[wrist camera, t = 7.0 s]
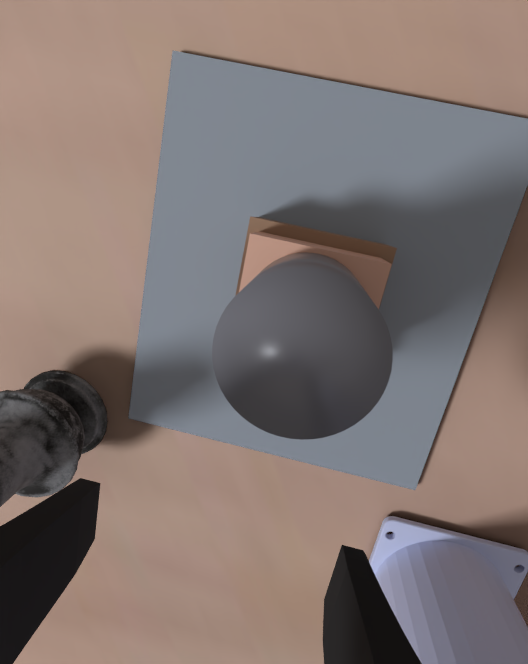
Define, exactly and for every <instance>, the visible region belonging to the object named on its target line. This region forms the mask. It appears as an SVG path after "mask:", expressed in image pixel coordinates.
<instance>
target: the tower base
mask: <svg viewBox="0 0 528 664" xmlns="http://www.w3.org/2000/svg"><path fill="white" fill-rule="evenodd" d="M254 232H264V233H269V234H273V235H278V236H282V237H287V238H292V239H296V240H301V241H306V242H310V243H315V244H319V245H324V246H329V247H333V248H338V249H342V250H347V251H352V252H356V253H361V254H366V255H370V256H375V257H379V258H382V259H384V260H385V261H387V262H389V263H391V264H392V263H393V260H394V257H395V253H396V250H397V248H395V247H392V246H389V245H386V244H382V243H377V242H373V241H368V240H363V239H359V238H354V237H349V236H345V235H340V234H335V233H331V232H326V231H321V230H317V229H312V228H307V227H303V226H298V225H293V224H289V223H284V222H279V221H275V220H270V219H265V218H261V217H250V220H249V225H248V231H247V236H246V241H245V247H244V252H243V257H242V263H241V268H240V273H239V279H238V284H237V289H236V295H237V294H238V293H239V289H240V283H241V278H242V273H243V267H244V262H245V257H246V252H247V246H248V241H249V236H250V233H254ZM391 267H392V265H391ZM390 270H391V269H390ZM389 274H390V272H389ZM388 277H389V276H388ZM387 280H388V279H387ZM386 284H387V282H386ZM385 287H386V286H385ZM384 291H385V289H384ZM383 294H384V293H383ZM236 295H235V296H236ZM382 297H383V296H382ZM381 301H382V299H381ZM380 304H381V303H380ZM379 308H380V306H379Z"/></svg>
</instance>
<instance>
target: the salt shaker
mask: <svg viewBox="0 0 528 664" xmlns="http://www.w3.org/2000/svg"><path fill="white" fill-rule="evenodd" d="M106 427H107V413H106V409H105V406H104V404H103V401H102V399H101V397H100V396H99V395H98V393H97V392H96V390H95V389H94V388H93V387H92V386H91V385H90V384H89V383H87V382H86V381H85V380H83V379H82V378H80V377H78V376H76V375H74V374H71V373H68V372H64V371H49V372H44V373H41V374H39V375H37V376H36V377H34V378H32V379H31V380H30V381H29V382H28V383H27V384H26V386H25V387H24V389H20V390H16V391H9V390H5V391H1V392H0V507H1V506H2V505H3V504H4V503H5V502H6V501H7V500H8V499H9V498H11V497H12V496H13V495H14V494H18V495H21V496H28V497H42V496H48V495H52V494H54V493H56V492H58V491H60V490H62V489H63V488H64V487H65V486H66V485H67V484H68V483H69V482H70V481H71V480H72V478H73V476H74V474H75V472H76V470H77V465H78V461H79V459H80V457H81V454H83V453H86V452H88V451H90V450H92V449H93V448H94V447H95V446H96V445H97V444H98V443H99V442H100V441H101V440H102V438H103V436H104V434H105V432H106Z"/></svg>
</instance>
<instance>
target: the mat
mask: <svg viewBox="0 0 528 664" xmlns="http://www.w3.org/2000/svg"><path fill="white" fill-rule="evenodd" d="M527 186H528V119H526V118H521V117H516V116H511V115H506V114H500V113H495V112H490V111H485V110H480V109H474V108H469V107H464V106H459V105H454V104H448V103H443V102H438V101H433V100H428V99H422V98H417V97H412V96H407V95H402V94H396V93H391V92H386V91H381V90H375V89H370V88H365V87H360V86H355V85H349V84H344V83H339V82H334V81H329V80H323V79H318V78H313V77H308V76H303V75H297V74H292V73H287V72H282V71H277V70H271V69H266V68H261V67H256V66H251V65H245V64H240V63H235V62H230V61H225V60H219V59H214V58H209V57H204V56H198V55H193V54H188V53H183V52H178V51H173V53H172V61H171V69H170V77H169V86H168V94H167V102H166V111H165V119H164V127H163V135H162V144H161V152H160V160H159V169H158V177H157V185H156V193H155V202H154V210H153V218H152V226H151V235H150V243H149V251H148V260H147V268H146V276H145V284H144V293H143V301H142V309H141V318H140V326H139V334H138V342H137V351H136V359H135V367H134V376H133V384H132V392H131V400H130V409H129V417H128V418H129V419H133V420H137V421H141V422H145V423H149V424H153V425H157V426H161V427H165V428H169V429H173V430H177V431H181V432H185V433H189V434H193V435H197V436H201V437H205V438H209V439H213V440H217V441H221V442H225V443H229V444H233V445H237V446H241V447H245V448H249V449H253V450H257V451H261V452H265V453H269V454H273V455H277V456H281V457H285V458H289V459H293V460H297V461H301V462H305V463H309V464H313V465H317V466H321V467H325V468H329V469H333V470H337V471H341V472H345V473H349V474H353V475H357V476H361V477H365V478H368V479H372V480H376V481H380V482H384V483H388V484H392V485H396V486H400V487H404V488H408V489H412V490H415V489H416V487H417V484H418V481H419V479H420V476H421V473H422V470H423V468H424V465H425V462H426V460H427V457H428V454H429V451H430V449H431V446H432V443H433V441H434V438H435V435H436V432H437V430H438V427H439V424H440V422H441V419H442V416H443V414H444V411H445V408H446V405H447V403H448V400H449V397H450V395H451V392H452V389H453V386H454V384H455V381H456V378H457V376H458V373H459V370H460V367H461V365H462V362H463V359H464V357H465V354H466V351H467V348H468V346H469V343H470V340H471V338H472V335H473V332H474V329H475V327H476V324H477V321H478V319H479V316H480V313H481V310H482V308H483V305H484V302H485V300H486V297H487V294H488V291H489V289H490V286H491V283H492V281H493V278H494V275H495V272H496V270H497V267H498V264H499V262H500V259H501V256H502V253H503V251H504V248H505V245H506V243H507V240H508V237H509V234H510V232H511V229H512V226H513V224H514V221H515V218H516V215H517V213H518V210H519V207H520V205H521V202H522V199H523V196H524V194H525V191H526V188H527ZM250 217H261V218H265V219H270V220H275V221H279V222H284V223H289V224H293V225H298V226H303V227H307V228H312V229H317V230H321V231H326V232H331V233H335V234H340V235H345V236H349V237H354V238H359V239H363V240H368V241H373V242H377V243H382V244H386V245H389V246H392V247H395V248H397V250H396V253H395V257H394V260H393V263H392V267H391V270H390V274H389V277H388V280H387V284H386V287H385V291H384V294H383V297H382V301H381V304H380V308H379V311H380V313H381V314H382V316H383V318H384V320H385V322H386V324H387V327H388V330H389V333H390V336H391V342H392V348H393V362H392V370H391V374H390V378H389V382H388V384H387V386H386V389H385V391H384V393H383V395H382V397H381V398H380V400H379V402H378V403H377V404H376V405H375V407H374V408H373V409H372V410H371V411H370V412H369V413H368V414H367V415H366V416H365V417H364V418H363V419H362V420H360V421H359V422H358V423H356V424H355V425H353V426H352V427H350V428H348V429H346V430H345V431H342V432H340V433H337V434H335V435H331V436H328V437H324V438H318V439H307V440H299V439H289V438H284V437H279V436H276V435H273V434H270V433H268V432H266V431H263V430H261V429H259V428H257V427H256V426H254V425H252V424H251V423H249V422H248V421H247V420H245V419H244V418H243V417H242V416H241V415H240V414H239V413H238V412H237V411H236V410H235V409H234V408H233V407H232V406H231V405H230V403H229V402H228V401H227V399H226V398H225V396H224V394H223V393H222V391H221V389H220V387H219V384H218V382H217V379H216V376H215V372H214V368H213V361H212V345H213V338H214V334H215V330H216V326H217V324H218V322H219V319H220V317H221V315H222V313H223V312H224V310H225V308H226V307H227V305H228V304H229V303H230V302H231V300H232V299H233V298H234V297H235V295H236V289H237V284H238V279H239V273H240V268H241V263H242V257H243V252H244V247H245V241H246V236H247V231H248V225H249V220H250Z"/></svg>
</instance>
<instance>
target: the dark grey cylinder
mask: <svg viewBox="0 0 528 664" xmlns="http://www.w3.org/2000/svg"><path fill="white" fill-rule="evenodd" d="M212 361H213V368H214V372H215V376H216V379H217V382H218V384H219V387H220V389H221V391H222V393H223V394H224V396H225V398H226V399H227V401H228V402H229V403H230V405H231V406H232V407H233V408H234V409H235V410H236V411H237V412H238V413H239V414H240V415H241V416H242V417H243V418H244V419H245V420H247V421H248V422H249V423H251V424H252V425H254V426H256V427H257V428H259V429H261V430H263V431H266V432H268V433H270V434H273V435H276V436H279V437H284V438H289V439H299V440H307V439H318V438H324V437H328V436H331V435H335V434H337V433H340V432H342V431H345V430H346V429H348V428H350V427H352V426H353V425H355V424H356V423H358V422H359V421H360V420H362V419H363V418H364V417H365V416H366V415H367V414H368V413H369V412H370V411H371V410H372V409H373V408H374V407H375V405H376V404H377V403H378V402H379V400H380V398H381V397H382V395H383V393H384V391H385V389H386V386H387V384H388V382H389V378H390V374H391V370H392V362H393V348H392V342H391V336H390V333H389V330H388V327H387V324H386V322H385V320H384V318H383V316H382V314H381V313H380V311H379V310H378V308H377V307H376V305H375V304H374V302H373V301H372V299H371V298H370V297H369V295H368V294H367V292H366V291H365V290H364V288H363V287H362V285H361V284H360V283H359V281H358V280H357V278H356V277H355V276H354V275H353V273H352V272H351V271H350V270H349V269H348V268H347V267H345V266H344V265H343V264H341V263H340V262H338V261H337V260H335V259H333V258H331V257H328V256H325V255H322V254H317V253H308V252H303V253H294V254H290V255H287V256H284V257H281V258H279V259H277V260H275V261H273V262H272V263H271V264H269V265H268V266H266V267H265V268H264V269H263V270H262V271H261V272H260V273H259V274H258V275H257V276H256V277H255V278H254V279H253V280H252V281H251V282H249V283H248V284H247V285H246V286H245V287H244V288H243V289H242V290H241V291H240V292H239V293H238V294H237V295H236V296H235V297H234V298H233V299H232V300H231V302H230V303H229V304H228V305H227V307H226V308H225V310H224V312H223V313H222V315H221V317H220V319H219V322H218V324H217V326H216V330H215V334H214V338H213V345H212Z"/></svg>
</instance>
